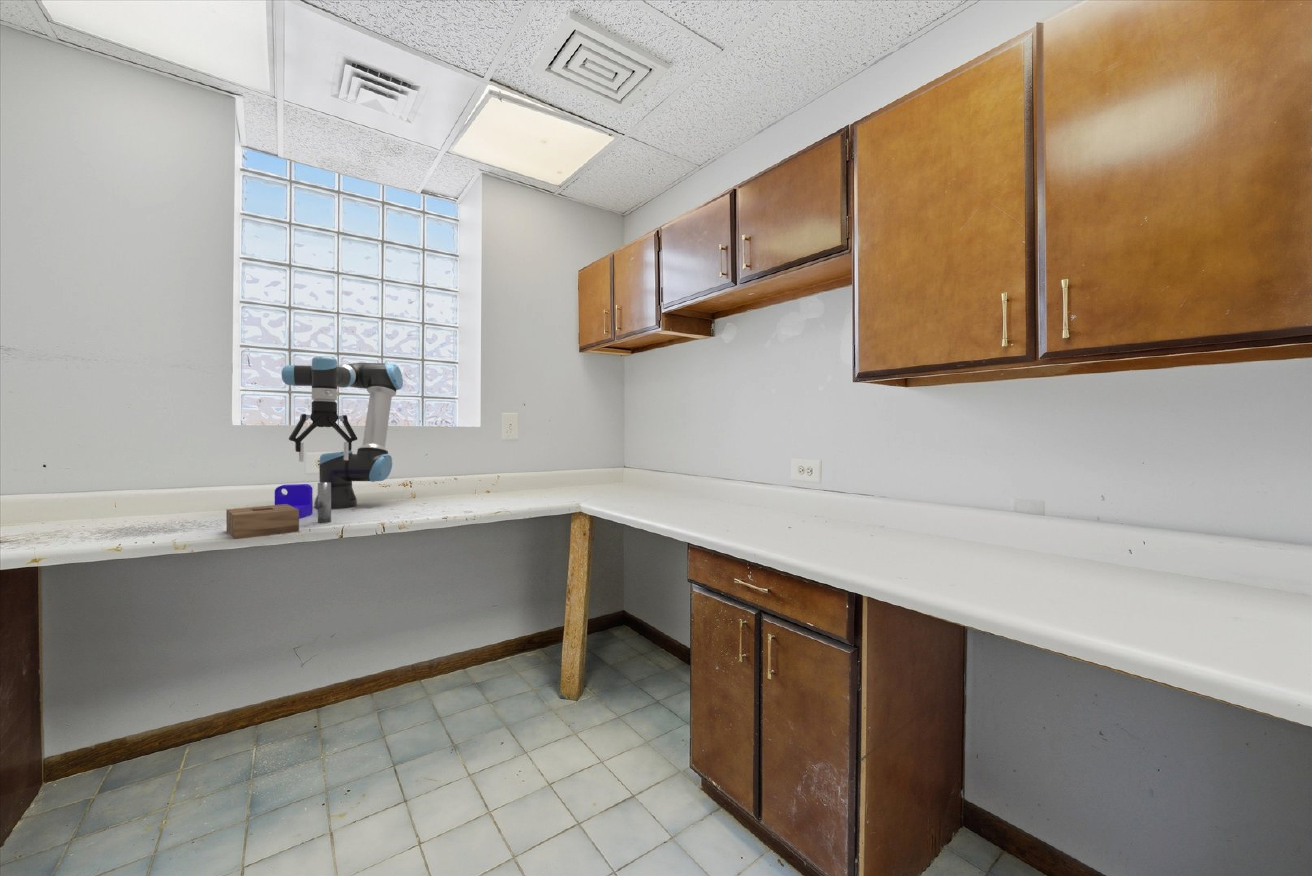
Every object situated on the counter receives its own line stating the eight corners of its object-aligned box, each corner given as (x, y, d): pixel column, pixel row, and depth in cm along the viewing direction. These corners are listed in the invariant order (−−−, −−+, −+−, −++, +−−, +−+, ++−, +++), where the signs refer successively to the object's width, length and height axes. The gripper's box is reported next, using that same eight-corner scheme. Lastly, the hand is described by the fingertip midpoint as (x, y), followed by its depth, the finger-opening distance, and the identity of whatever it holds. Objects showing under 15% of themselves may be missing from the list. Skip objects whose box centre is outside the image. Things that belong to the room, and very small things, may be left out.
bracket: (278, 515, 187) (277, 484, 187) (312, 514, 191) (312, 483, 191) (263, 524, 171) (263, 490, 170) (301, 522, 175) (301, 489, 175)
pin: (316, 521, 175) (316, 482, 175) (329, 520, 178) (329, 481, 178) (319, 523, 173) (319, 483, 172) (332, 522, 176) (332, 482, 175)
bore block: (226, 530, 159) (226, 509, 159) (287, 524, 171) (287, 504, 171) (234, 538, 148) (234, 515, 148) (298, 531, 160) (298, 509, 160)
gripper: (283, 398, 163) (283, 462, 163) (367, 402, 181) (366, 460, 182) (278, 399, 168) (278, 461, 168) (360, 403, 186) (360, 459, 187)
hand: (324, 460), depth 175 cm, fingers open, 13 cm apart
